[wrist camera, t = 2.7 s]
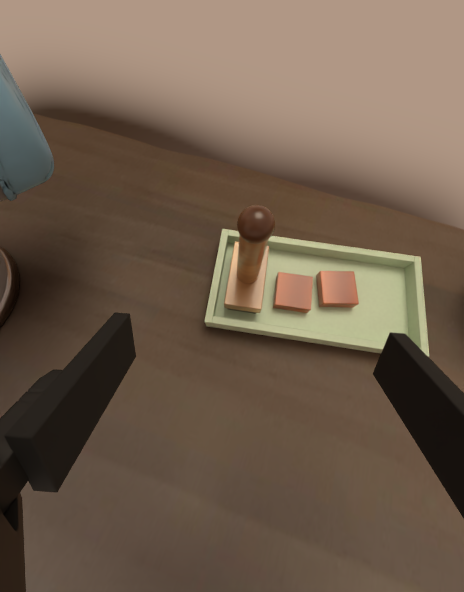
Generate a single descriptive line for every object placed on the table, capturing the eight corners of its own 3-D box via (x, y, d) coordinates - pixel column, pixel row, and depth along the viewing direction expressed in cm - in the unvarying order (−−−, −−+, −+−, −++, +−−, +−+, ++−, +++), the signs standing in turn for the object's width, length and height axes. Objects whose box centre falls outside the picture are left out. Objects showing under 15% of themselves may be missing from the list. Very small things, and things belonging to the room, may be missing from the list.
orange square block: (318, 307, 29) (323, 303, 28) (315, 275, 31) (319, 270, 29) (353, 307, 29) (359, 304, 28) (348, 276, 31) (354, 271, 29)
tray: (206, 326, 29) (204, 321, 27) (222, 239, 33) (222, 228, 31) (413, 358, 28) (429, 356, 26) (407, 265, 32) (420, 256, 30)
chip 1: (272, 308, 29) (275, 304, 28) (276, 276, 31) (278, 271, 29) (307, 313, 29) (311, 309, 28) (309, 281, 30) (313, 276, 29)
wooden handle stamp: (224, 310, 29) (220, 257, 16) (234, 252, 32) (237, 167, 19) (258, 316, 29) (281, 266, 16) (266, 257, 31) (291, 174, 19)
